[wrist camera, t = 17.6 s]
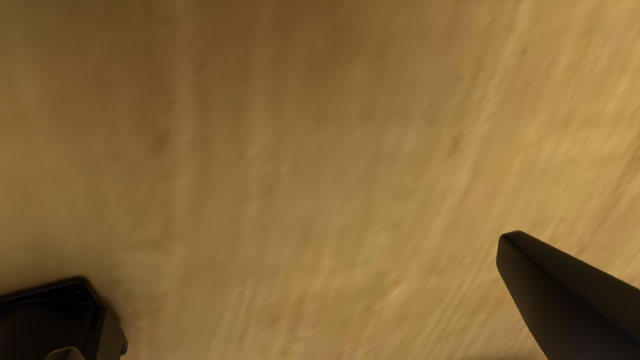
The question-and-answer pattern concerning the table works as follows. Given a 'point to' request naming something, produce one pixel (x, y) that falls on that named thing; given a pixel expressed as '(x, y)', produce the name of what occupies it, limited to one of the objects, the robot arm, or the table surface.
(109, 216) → the table surface
